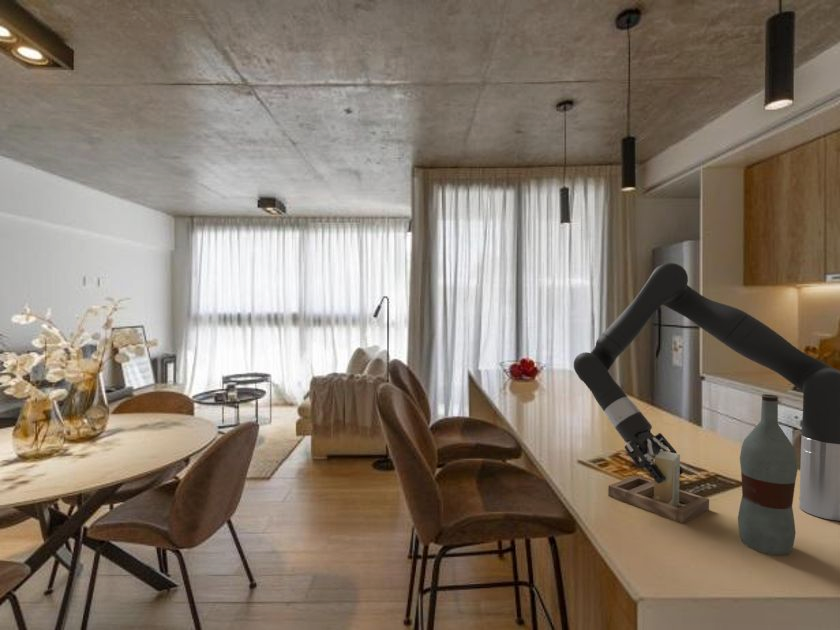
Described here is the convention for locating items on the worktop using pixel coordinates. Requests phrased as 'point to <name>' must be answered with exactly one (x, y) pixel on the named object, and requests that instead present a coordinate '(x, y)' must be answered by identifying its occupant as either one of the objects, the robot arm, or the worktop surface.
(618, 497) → the slot holder
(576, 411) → the worktop surface
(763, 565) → the worktop surface
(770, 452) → the bottle
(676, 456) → the skincare box
